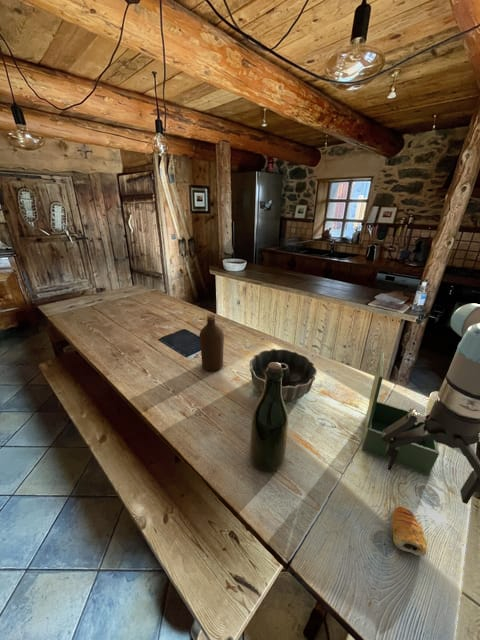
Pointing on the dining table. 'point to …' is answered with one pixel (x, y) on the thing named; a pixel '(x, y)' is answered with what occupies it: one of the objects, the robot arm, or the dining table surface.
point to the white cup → (430, 402)
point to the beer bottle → (269, 423)
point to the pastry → (408, 532)
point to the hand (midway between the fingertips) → (424, 480)
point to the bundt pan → (284, 372)
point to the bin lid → (375, 389)
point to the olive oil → (211, 345)
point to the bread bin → (410, 455)
